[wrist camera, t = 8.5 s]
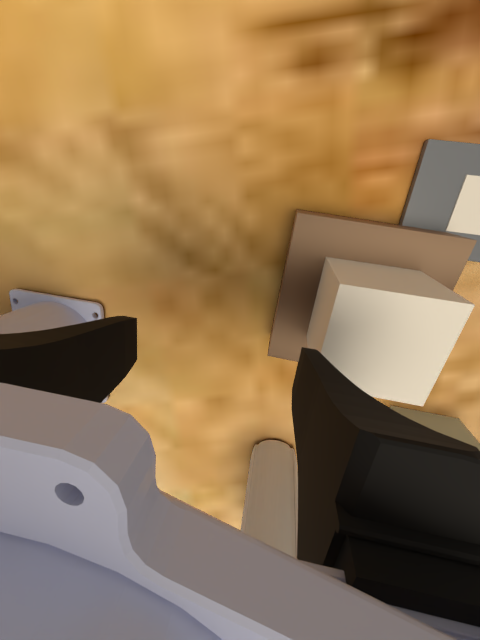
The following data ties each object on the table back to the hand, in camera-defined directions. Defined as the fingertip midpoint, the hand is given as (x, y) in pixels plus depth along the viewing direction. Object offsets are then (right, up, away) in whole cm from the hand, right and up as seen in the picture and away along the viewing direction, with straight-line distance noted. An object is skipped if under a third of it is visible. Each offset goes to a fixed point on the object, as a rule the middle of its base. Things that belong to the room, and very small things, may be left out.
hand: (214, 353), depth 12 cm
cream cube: (+8, +2, +4) cm, 9 cm away
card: (+15, +8, +5) cm, 18 cm away
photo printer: (+4, -14, +15) cm, 20 cm away
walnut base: (+8, +3, +7) cm, 11 cm away
